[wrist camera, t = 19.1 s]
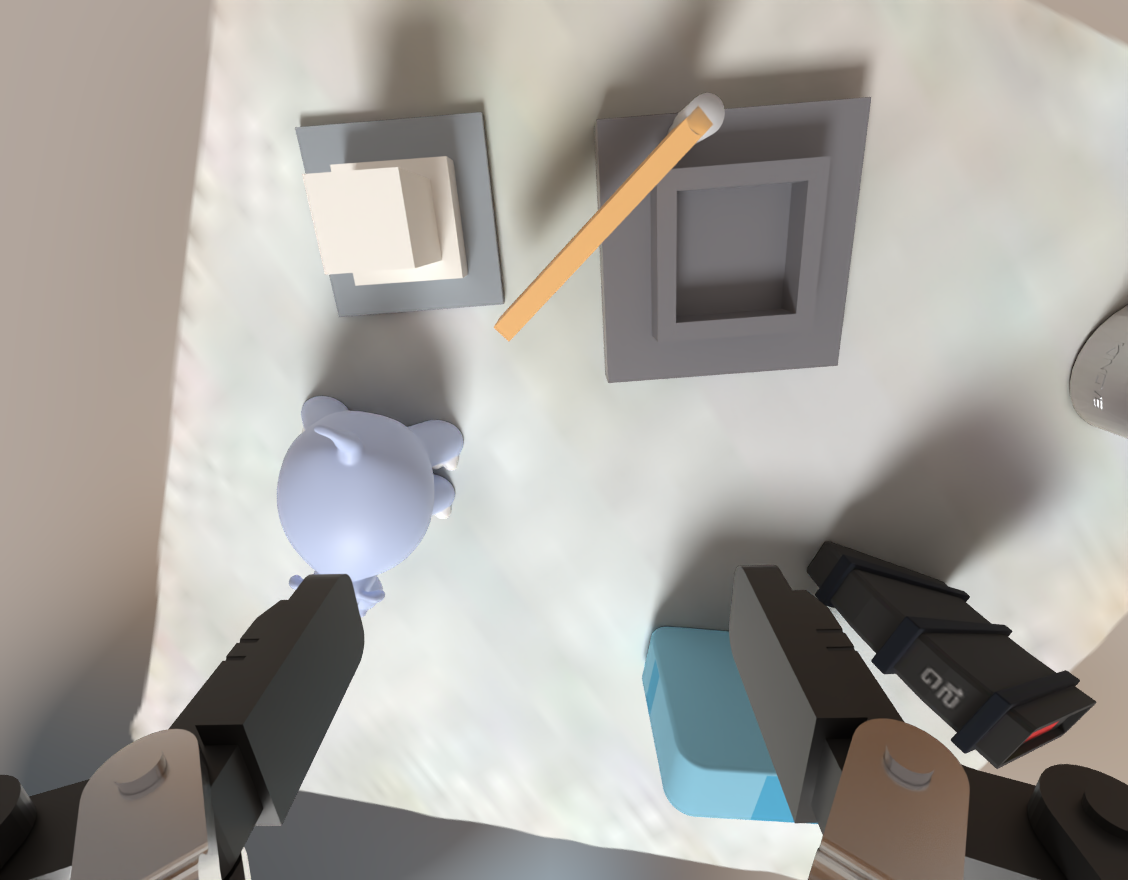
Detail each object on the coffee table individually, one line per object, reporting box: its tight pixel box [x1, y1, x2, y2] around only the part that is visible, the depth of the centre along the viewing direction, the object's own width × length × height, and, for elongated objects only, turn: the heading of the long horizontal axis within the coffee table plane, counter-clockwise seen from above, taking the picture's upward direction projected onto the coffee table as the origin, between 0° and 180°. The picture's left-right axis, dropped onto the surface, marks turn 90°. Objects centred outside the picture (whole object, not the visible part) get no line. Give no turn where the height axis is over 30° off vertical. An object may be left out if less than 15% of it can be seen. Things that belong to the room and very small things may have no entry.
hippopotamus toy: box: [277, 396, 463, 617], centre depth 32 cm, size 11×15×10 cm
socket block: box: [594, 97, 871, 383], centre depth 29 cm, size 14×14×4 cm
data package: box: [642, 626, 818, 824], centre depth 37 cm, size 12×4×12 cm, turn 83°
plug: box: [302, 156, 468, 286], centre depth 26 cm, size 6×6×8 cm
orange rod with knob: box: [494, 93, 725, 341], centre depth 25 cm, size 2×14×3 cm, turn 136°
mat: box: [295, 112, 504, 317], centre depth 30 cm, size 10×10×1 cm
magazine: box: [807, 541, 1096, 769], centre depth 35 cm, size 4×13×15 cm, turn 68°
